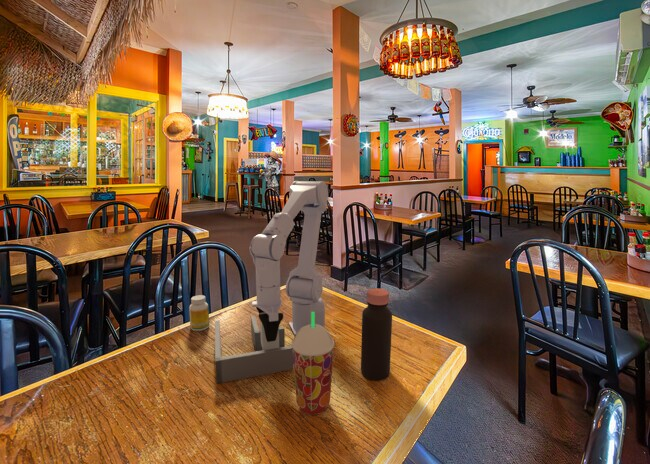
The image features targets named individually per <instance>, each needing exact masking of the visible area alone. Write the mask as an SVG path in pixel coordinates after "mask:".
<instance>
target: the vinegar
mask: <svg viewBox="0 0 650 464" xmlns="http://www.w3.org/2000/svg"><path fill="white" fill-rule="evenodd" d="M389 298H390V292H389V291H388V290H386V289H385V288H380V287H379V288H377V287H376V288H370V289H367V291H366V303H367V306H366V307H365V308H364V309H363V310H362V312H361V313H362V315H361V345H360V347H361V349H360V350H361V351H360V353H361V354H360V372H361V374H362V376H363V377H364V378H366V379H368V380H370V381H375V382H376V381H384V380H386V379H387V378H389V376H390V374H391V372H390V371H391V357H392V356H391V353H392V352H391V351H392V350H391V349H392V332H393V330H392V329H393V328H392V327H393V312H392V311H391V309H389V308H388V305H389V303H390V301H389V300H390V299H389Z"/></svg>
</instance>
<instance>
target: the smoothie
mask: <svg viewBox="0 0 650 464" xmlns="http://www.w3.org/2000/svg"><path fill="white" fill-rule="evenodd" d="M291 346H292V352H293V375H294V377H293V378H294V389H295V400H296V404H297V405H298V407H299V409H300V411H302V413H305V414H306V415H313V416H314V415H319V414H322V413H323V412H325V410H326V409H327V407H328V405H329V404H330V402H331V401H330V400H331V392H332V390H331V389H332V379H333V368H334V367H333V364H334V355H335V354H334V351H335V340H334V339H333V338H332V336H331V333H330V332H329V331H328V329H327V328H324V327H323V326H321V325H318V324H315V312H311V324H308V325H305V326H304V327H302V328H301V329H300V330H299V331H298V333H297V334H296V335H294V338H293V340H292V341H291Z"/></svg>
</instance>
